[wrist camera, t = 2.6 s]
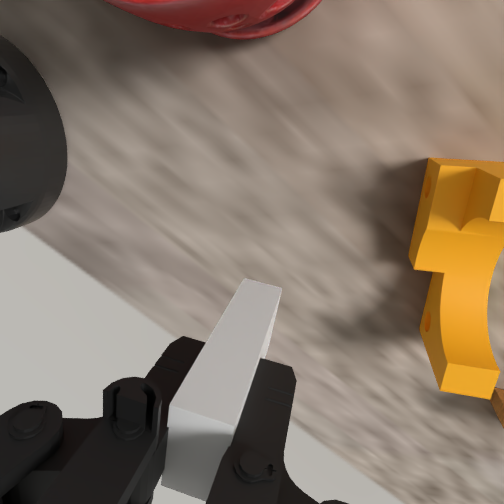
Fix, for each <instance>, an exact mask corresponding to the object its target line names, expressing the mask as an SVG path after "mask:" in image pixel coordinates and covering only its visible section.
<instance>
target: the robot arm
mask: <svg viewBox="0 0 504 504" xmlns="http://www.w3.org/2000/svg"><path fill="white" fill-rule="evenodd" d="M66 169H67V145H66V137H65V132H64V128H63V124H62V120H61V117H60V114H59V111H58V108H57V106H56V103H55V101H54V99H53V97H52V95H51V93H50V91H49V89H48V87H47V85H46V84H45V82H44V80H43V79H42V77H41V76H40V74H39V73H38V71H37V70H36V69H35V67H34V66H33V65H32V64H31V62H30V61H29V60H28V59H27V58H26V57H25V56H24V55H23V54H22V53H21V52H20V51H19V50H18V49H17V48H16V47H15V46H14V45H13V44H11V43H10V42H9V41H8V40H6V39H5V38H4V37H2V36H1V35H0V233H1V232H5V231H9V230H13V229H15V228H18V227H21V226H23V225H26V224H28V223H31V222H33V221H35V220H37V219H39V218H40V217H42V216H43V215H44V214H46V213H47V212H48V211H49V210H50V209H51V207H52V206H53V205H54V203H55V202H56V200H57V199H58V197H59V195H60V193H61V190H62V187H63V184H64V181H65V176H66ZM281 292H282V288H280V287H277V286H273V285H269V284H265V283H262V282H258V281H254V280H250V279H246V278H244V279H243V281H242V282H241V284H240V286H239V287H238V289H237V291H236V293H235V294H234V296H233V298H232V299H231V301H230V303H229V304H228V306H227V308H226V310H225V311H224V313H223V315H222V316H221V318H220V320H219V321H218V323H217V325H216V326H215V328H214V330H213V332H212V333H211V335H210V337H209V338H208V340H207V342H206V343H205V342H202V341H198V340H195V339H192V338H188V337H185V336H182V337H181V338H179V339H177V340H175V341H174V342H172V343H171V344H170V345H169V346H168V347H167V348H166V350H165V351H164V352H163V354H162V356H161V357H160V358H159V359H158V361H157V362H156V364H155V366H154V367H153V368H152V369H151V370H150V371H149V373H148V374H147V376H146V377H145V378H139V377H129V378H123V379H120V380H117V381H115V382H113V383H111V384H110V385H109V386H108V387H106V388H105V389H104V390H103V417H99V418H91V419H80V418H62V411H61V410H60V409H59V408H58V407H57V405H55V404H53V403H50V402H48V401H32V402H27V403H22V404H20V405H18V406H16V407H14V408H12V409H10V410H8V411H6V412H5V413H4V414H2V415H0V504H151V503H152V499H153V491H154V489H155V487H156V485H157V483H158V481H159V479H160V477H161V475H162V481H161V485H162V486H165V487H168V488H171V489H173V490H176V491H179V492H181V493H184V494H187V495H190V496H192V497H195V498H198V499H201V500H203V501H206V504H319V503H318V502H317V501H315V500H314V499H312V498H311V497H310V496H308V495H307V494H305V493H304V492H303V491H302V490H301V489H299V488H298V487H297V486H296V485H295V483H294V482H293V481H292V480H291V479H290V477H289V475H288V473H287V471H286V468H285V464H284V448H285V442H286V437H287V431H288V426H289V420H290V415H291V408H292V403H293V398H294V392H295V387H296V378H295V375H294V372H293V369H292V367H290V366H287V365H283V364H280V363H276V362H273V361H270V360H266V359H265V357H266V354H267V350H268V347H269V343H270V339H271V335H272V330H273V326H274V322H275V317H276V313H277V309H278V304H279V300H280V296H281ZM320 504H348V503H345V502H342V501H338V500H329V501H323V502H322V503H320Z"/></svg>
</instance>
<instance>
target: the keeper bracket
mask: <svg viewBox="0 0 504 504" xmlns="http://www.w3.org/2000/svg"><path fill="white" fill-rule="evenodd" d="M489 400H490V402H491V404H492V406H493V408H494V410H495V412H496V414H497V416H498V418H499V420H500V422H501V424H502V426H503V428H504V390H503V389H499V388H495V387H494V390H493V393H492V396H491V398H490V399H489Z"/></svg>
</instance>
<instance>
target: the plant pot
mask: <svg viewBox="0 0 504 504" xmlns="http://www.w3.org/2000/svg"><path fill="white" fill-rule="evenodd" d="M104 1H106V2H108V3H110V4H112V5H114V6H116V7H118V8H120V9H122V10H125V11H127V12H129V13H131V14H134V15H136V16H138V17H141V18H143V19H146V20H149V21H151V22H154V23H158V24H161V25H165V26H168V27H172V28H176V29H181V30H187V31H198V32H210V33H212V34H215V35H218V36H221V37H226V38H231V39H256V38H262V37H266V36H269V35H273V34H275V33H278V32H280V31H282V30H284V29H286V28H288V27H290V26H292V25H294V24H295V23H297V22H298V21H300V20H301V19H303V18H304V17H305V16H307V15H308V14H309V13H310V12H311V11H312V10H313V9H314V8H315V7H316V6H317V5H318V4H319V3H320V2H321V1H322V0H104Z"/></svg>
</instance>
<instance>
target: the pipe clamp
mask: <svg viewBox="0 0 504 504" xmlns="http://www.w3.org/2000/svg"><path fill="white" fill-rule="evenodd" d="M503 248H504V162H494V161H477V160H460V159H443V158H428V163H427V168H426V173H425V178H424V182H423V187H422V192H421V197H420V201H419V206H418V211H417V216H416V221H415V225H414V230H413V235H412V240H411V245H410V249H409V254H408V256H409V259H410V261H411V263H412V266H413V268H414V269H415V270H424V271H433V274H432V278H431V282H430V286H429V290H428V294H427V299H426V303H425V307H424V311H423V315H422V319H421V323H420V328H419V330H420V333H421V336H422V339H423V342H424V345H425V348H426V351H427V354H428V357H429V360H430V363H431V366H432V369H433V372H434V375H435V378H436V381H437V383H438V386H439V389H440V391H445V392H450V393H456V394H462V395H468V396H473V397H479V398H485V399H490V398H491V396H492V393H493V390H494V387H495V384H496V382H497V379H498V376H499V373H500V370H499V368H498V366H497V364H496V362H495V359H494V356H493V353H492V350H491V346H490V341H489V335H488V327H487V302H488V293H489V287H490V282H491V278H492V274H493V271H494V268H495V265H496V262H497V260H498V258H499V255H500V253H501V251H502V249H503Z"/></svg>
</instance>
